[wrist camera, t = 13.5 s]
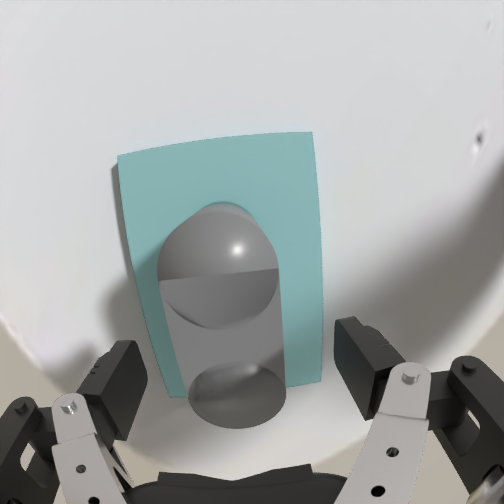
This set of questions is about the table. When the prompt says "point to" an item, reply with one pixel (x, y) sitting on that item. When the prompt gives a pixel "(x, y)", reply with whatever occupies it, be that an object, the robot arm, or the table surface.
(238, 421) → the plug block
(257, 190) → the mat
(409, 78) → the table surface
